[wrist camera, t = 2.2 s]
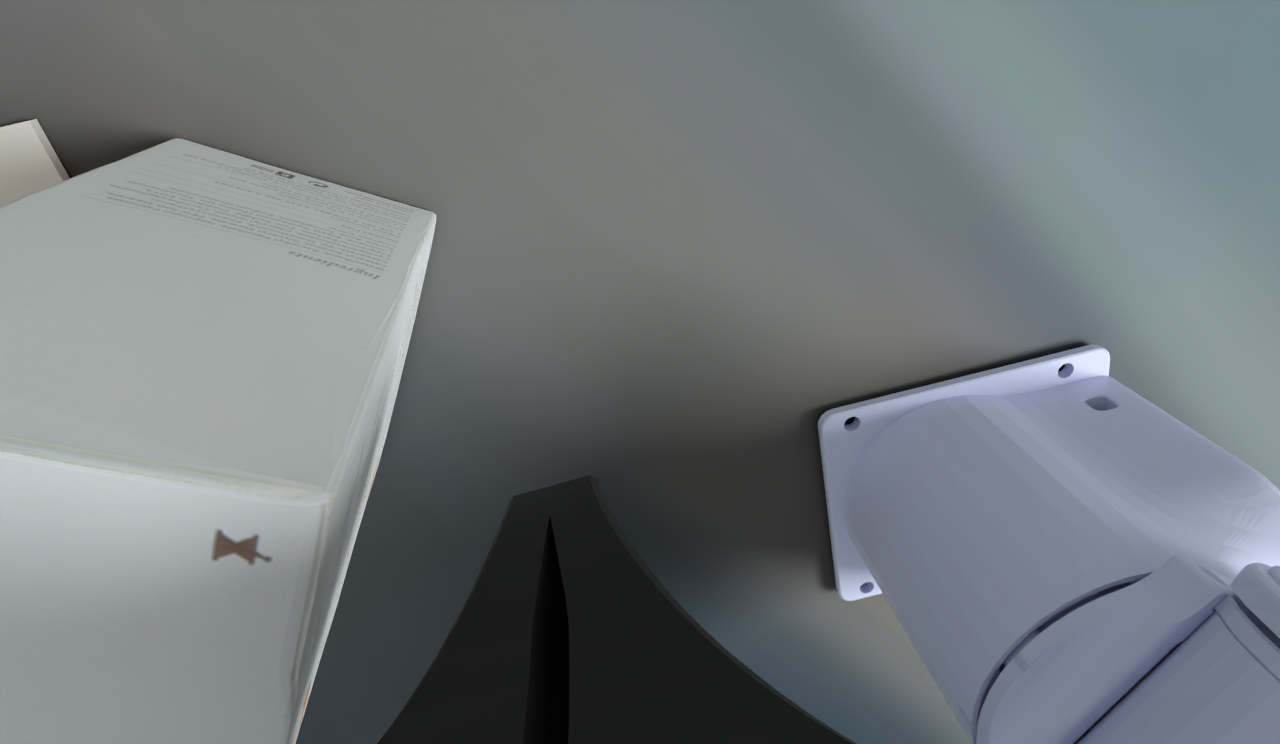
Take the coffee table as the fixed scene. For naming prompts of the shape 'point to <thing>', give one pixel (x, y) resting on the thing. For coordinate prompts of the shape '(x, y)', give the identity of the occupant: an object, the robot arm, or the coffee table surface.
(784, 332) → the coffee table surface
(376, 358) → the small box
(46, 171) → the felt pad
